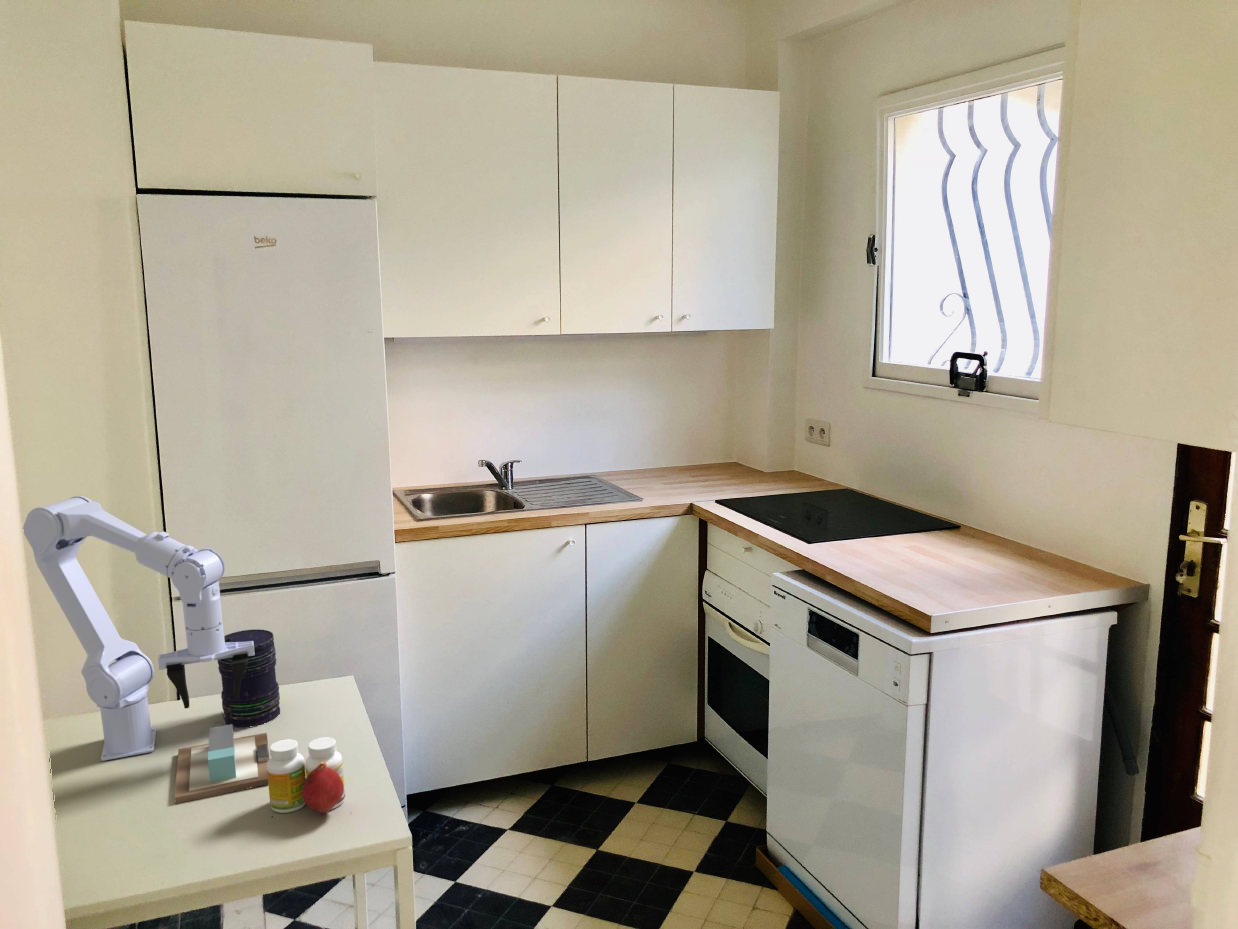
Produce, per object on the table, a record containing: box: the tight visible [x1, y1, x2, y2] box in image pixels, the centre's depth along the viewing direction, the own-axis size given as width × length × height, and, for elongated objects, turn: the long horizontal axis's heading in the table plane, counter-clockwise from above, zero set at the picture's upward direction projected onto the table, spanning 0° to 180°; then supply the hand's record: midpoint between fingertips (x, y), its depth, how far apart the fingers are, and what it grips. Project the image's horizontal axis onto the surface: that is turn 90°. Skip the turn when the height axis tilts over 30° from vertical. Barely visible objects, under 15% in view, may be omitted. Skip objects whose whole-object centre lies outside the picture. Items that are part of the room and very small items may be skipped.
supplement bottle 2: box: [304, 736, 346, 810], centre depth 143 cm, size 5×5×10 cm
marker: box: [208, 724, 236, 783], centre depth 155 cm, size 14×4×4 cm, turn 23°
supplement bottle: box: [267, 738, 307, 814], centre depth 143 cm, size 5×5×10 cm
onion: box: [302, 762, 345, 814], centre depth 140 cm, size 6×6×8 cm
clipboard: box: [174, 732, 271, 804], centre depth 155 cm, size 17×14×2 cm
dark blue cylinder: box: [217, 628, 281, 729], centre depth 173 cm, size 10×10×15 cm
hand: (212, 701), depth 158 cm, fingers open, 7 cm apart
